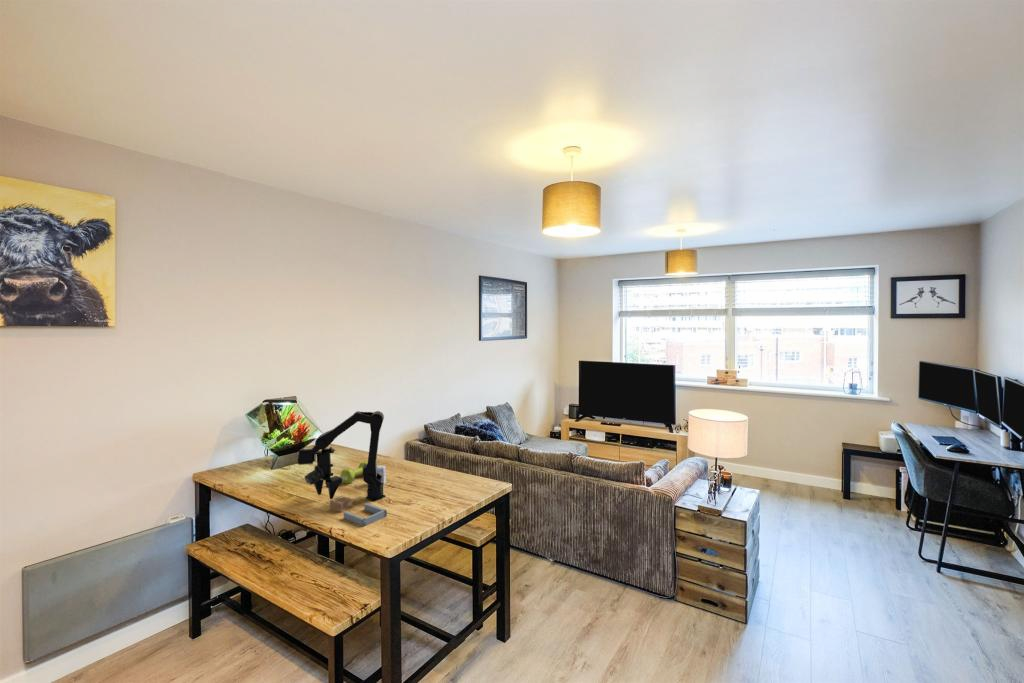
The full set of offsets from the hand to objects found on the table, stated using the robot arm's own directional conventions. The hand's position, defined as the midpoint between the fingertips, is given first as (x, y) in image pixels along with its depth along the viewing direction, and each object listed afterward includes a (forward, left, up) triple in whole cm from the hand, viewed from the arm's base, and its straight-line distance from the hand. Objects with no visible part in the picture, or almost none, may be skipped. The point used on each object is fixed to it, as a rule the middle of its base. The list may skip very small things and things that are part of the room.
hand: (325, 496), depth 209 cm
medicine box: (-28, +1, -3) cm, 28 cm away
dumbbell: (-27, -14, -3) cm, 31 cm away
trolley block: (0, +12, -3) cm, 12 cm away
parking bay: (0, +28, -2) cm, 28 cm away
